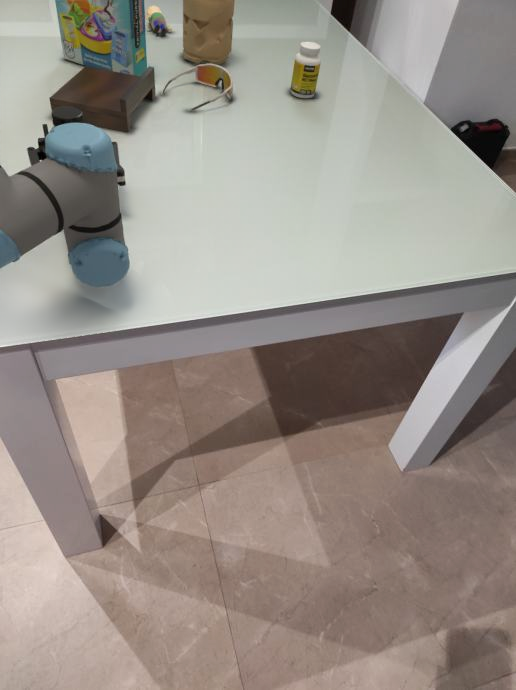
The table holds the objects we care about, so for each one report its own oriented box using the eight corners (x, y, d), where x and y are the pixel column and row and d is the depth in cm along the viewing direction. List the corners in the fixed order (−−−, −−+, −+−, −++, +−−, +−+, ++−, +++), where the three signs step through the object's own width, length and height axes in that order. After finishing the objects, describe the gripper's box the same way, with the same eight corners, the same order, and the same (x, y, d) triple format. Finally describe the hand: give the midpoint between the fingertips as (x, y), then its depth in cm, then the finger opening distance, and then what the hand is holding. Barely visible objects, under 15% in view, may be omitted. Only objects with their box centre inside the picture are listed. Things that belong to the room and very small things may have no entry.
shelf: (52, 117, 105) (46, 85, 100) (87, 84, 117) (83, 53, 112) (128, 132, 105) (125, 100, 100) (155, 97, 117) (154, 67, 112)
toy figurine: (170, 44, 145) (162, 26, 151) (177, 28, 142) (168, 11, 149) (143, 30, 140) (136, 12, 147) (150, 14, 137) (142, -4, 144)
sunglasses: (244, 99, 121) (244, 77, 117) (196, 123, 114) (194, 102, 110) (204, 77, 126) (202, 56, 122) (156, 100, 120) (153, 78, 116)
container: (175, 61, 132) (174, -22, 118) (192, 46, 140) (193, -34, 127) (222, 72, 130) (226, -12, 117) (236, 56, 139) (242, -24, 125)
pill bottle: (299, 100, 124) (307, 51, 116) (285, 90, 127) (292, 41, 119) (319, 97, 126) (328, 48, 118) (305, 87, 130) (313, 39, 121)
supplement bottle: (104, 185, 91) (95, 118, 82) (66, 193, 88) (53, 125, 79) (89, 166, 94) (79, 100, 86) (52, 174, 91) (38, 106, 83)
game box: (63, 60, 125) (39, -83, 105) (79, 52, 129) (60, -86, 109) (133, 83, 120) (123, -61, 100) (149, 74, 124) (142, -66, 104)
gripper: (20, 233, 75) (13, 154, 89) (154, 218, 81) (127, 147, 95) (7, 187, 70) (1, 111, 84) (152, 175, 76) (124, 106, 90)
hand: (69, 130), depth 89 cm, fingers closed on supplement bottle, 7 cm apart
